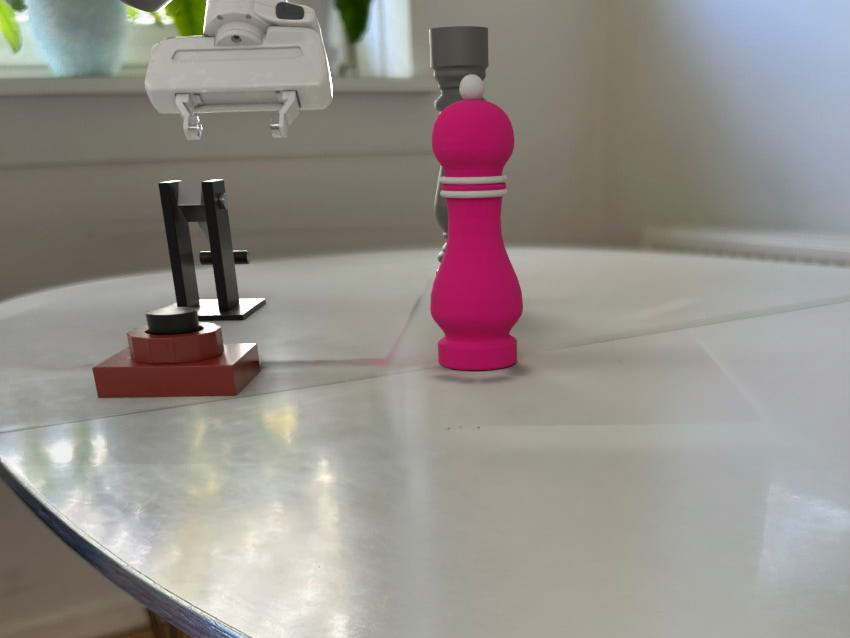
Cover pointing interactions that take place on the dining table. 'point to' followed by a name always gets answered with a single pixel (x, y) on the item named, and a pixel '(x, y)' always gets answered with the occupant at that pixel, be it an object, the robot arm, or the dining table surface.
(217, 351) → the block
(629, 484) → the dining table surface
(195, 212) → the tap lever
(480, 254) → the pepper mill
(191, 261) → the bracket
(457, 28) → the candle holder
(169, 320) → the black push button
